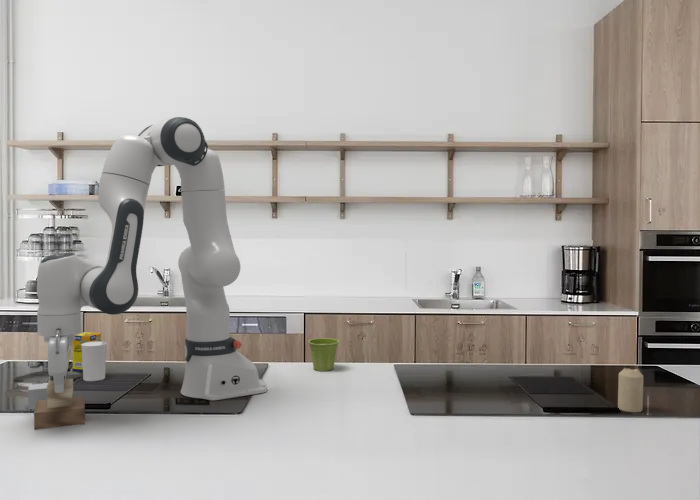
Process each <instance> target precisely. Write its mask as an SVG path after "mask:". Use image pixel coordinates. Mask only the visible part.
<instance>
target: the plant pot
mask: <svg viewBox="0 0 700 500" xmlns="http://www.w3.org/2000/svg"><path fill="white" fill-rule="evenodd" d="M307 342H308V344H309V348H310V351H311V358H312V365H313V366H312V367H313V370H314V371H315V370H316V371H317V372H328V371H332V370H334V369H335V368H334V367H335V359H336V353H337V348H338V345H339V343H340V341H339V339H335V338H327V337H324V338H323V337H322V338H320V337H319V338H312V339H309V340H308V341H307Z"/></svg>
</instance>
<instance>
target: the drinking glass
mask: <svg viewBox="0 0 700 500" xmlns="http://www.w3.org/2000/svg"><path fill="white" fill-rule="evenodd" d="M81 347H82V364H83V372H82V377H83V381H85V382H96V381H103V380H104V379H106V362H107V357H106V356H107V342H105V341H101V342H87V343H83V344H81Z"/></svg>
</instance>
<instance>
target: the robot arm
mask: <svg viewBox="0 0 700 500" xmlns="http://www.w3.org/2000/svg"><path fill="white" fill-rule="evenodd" d="M208 146H209V145H208V143H207V141H206V138H205V135H204V132H203V130H202V128H201V127H200V126H199V124H198V123H197V122H196V121H195V120H193V119H191V118H187V117H182V116H176V117H172V118H167V119H162V120H159V121H157V122H156V123H155V124H151V125H149V126H147V127H145V128H144V129H142V131H141V132H140V133H139V134H137V135H136V134H130V133H129V134H122V135H120V136H118V137H117V138H116V139H115V140H114V141H113V143H112V145H111V148H110V150H109V152H108V154H107V157H106V159H105V162H104V164H103V168H102V172H101V174H100V175H101V176H100V179H99V184H98V188H97V189H98V191H97V199H98V200H97V201H98V204H99V206H100V208H101V209H102V211H104V212H105V213H106V215H107V216H108V218H109V219H110V221H111V222H110V223H111V230H112V231H111V237H110V242H109V247H108V253H107V258H106V263H105V265H104V266H101V265H98V264H95V263H92V262H89V261H87V260H85V259H84V258H81V257H79V256H78V255H77V254H76V253H74V252H64V253H63V252H62V253H56V254H52V255H51V254H50V255H48V256H46V257H44V258H43V259H41V260H40V262H39V264H38V267H37V275H36V277H37V279H36V296H37V299H38V309H37V314H36V315H37V316H36V317H37V318H36V319H37V320H36V321H37V335H38V336H40V337H41V336H42V337H43V342H44V343H47V344H48V346H47V371H48V375H49V377H52V380H54V388H55V393H62V392H63V391H64V379H67V378H66V377H67V376H66V375H67V374H68V369H69V363H70V357H71V354H72V353H71V352H72V341H73V340H75V335H76V334H80V333H81V332H82V325H81V324H82V321H81V320H82V319H81V317H82V316H81V315H82V314H81V311H82V310H81V309H82V308H83V307H90V308H93V309H96V310H98V311H101V312H102V313H104V314H107V315H113V316H114V315H121V314H123V313H125V312H127V311H128V310H129V309H131V308H132V306H134V304H135V302H136V301H137V298H138V294H139V282H138V281H139V280H138V277H137V265H138V260H139V259H138V258H139V255H140V254H139V252H140V247H141V240H142V236H143V235H142V234H143V229H144V227H143V226H144V220H145V219H144V217H145V207H146V202H147V197H148V194H149V191H150V190H149V189H150V185H151V180H152V176H153V175H152V174H153V173H154V171H155V169H156V168H157V167H163V166H174V167H175V168H176V170H177V172H178V174H179V178H180V191H181V194H180V195H181V205H182V206H181V208H182V222H183V225H184V227H185V229H186V232H187V236H188V239H189V240H188V241H189V243H190V246H187V247H186V248H185V249H183V251H182V252H181V253H180V255H179V257H178V260H177V261H178V262H177V264H178V269H179V272H180V276H181V284H182V289H183V295H184V300H185V301H184V302H185V309H186V310H185V311H186V338H185V339H184V340H185V341H184V358H185V369H184V376H183V381H182V386H181V389H180V394H181V395H183V396H184V397H188V398H193V399H203V400H208V401H218V400H227V399H232V398H239V397H244V396H250V395H257V394H263V393H266V392H267V391H268V384H267V383H266V382H265V381H264V380H262V379H261V378H260V377H259V371H258V368H257V366H256V365H255V363H254V362H253V361H251V360H250V359H249V358H248V357H246V356H245V355H243V354H242V353H241V352H239V351H237V350H239V349H241V347H242V345H243V344H242V342H241V341H240V340H239V339H236V338H233V337H231V336H230V331H231V330H230V329H231V328H230V327H231V326H230V322H231V321H230V317H231V316H230V313H231V312H230V311H231V310H230V306H229V304H228V301H227V298H226V293H225V289H224V287H226V286H230V285H231V284H233V283H234V282H235V281H236V280H237V279H238V278H239V276H240V274H241V273H240V272H241V262H240V258H239V257H238V255H237V254H236V251H235V249H234V243H233V239H232V235H231V232H230V228H229V225H228V218H227V217H228V216H227V205H226V203H227V202H226V191H225V180H224V173H223V168H222V164H221V160H220V157H219V155H218V153H216V152H215V151H214V150H212V149H210V148H208Z"/></svg>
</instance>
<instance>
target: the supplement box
mask: <svg viewBox="0 0 700 500" xmlns="http://www.w3.org/2000/svg"><path fill="white" fill-rule="evenodd" d="M87 342H102V332H89V331H88V332H87V331H84V332H82V333H81V332H80V333H78V334H75V340H73V341H72V347H71V352H72V353H71V354H72V372H79V373H83V364H82V347H81V344H83V343H87Z"/></svg>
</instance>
